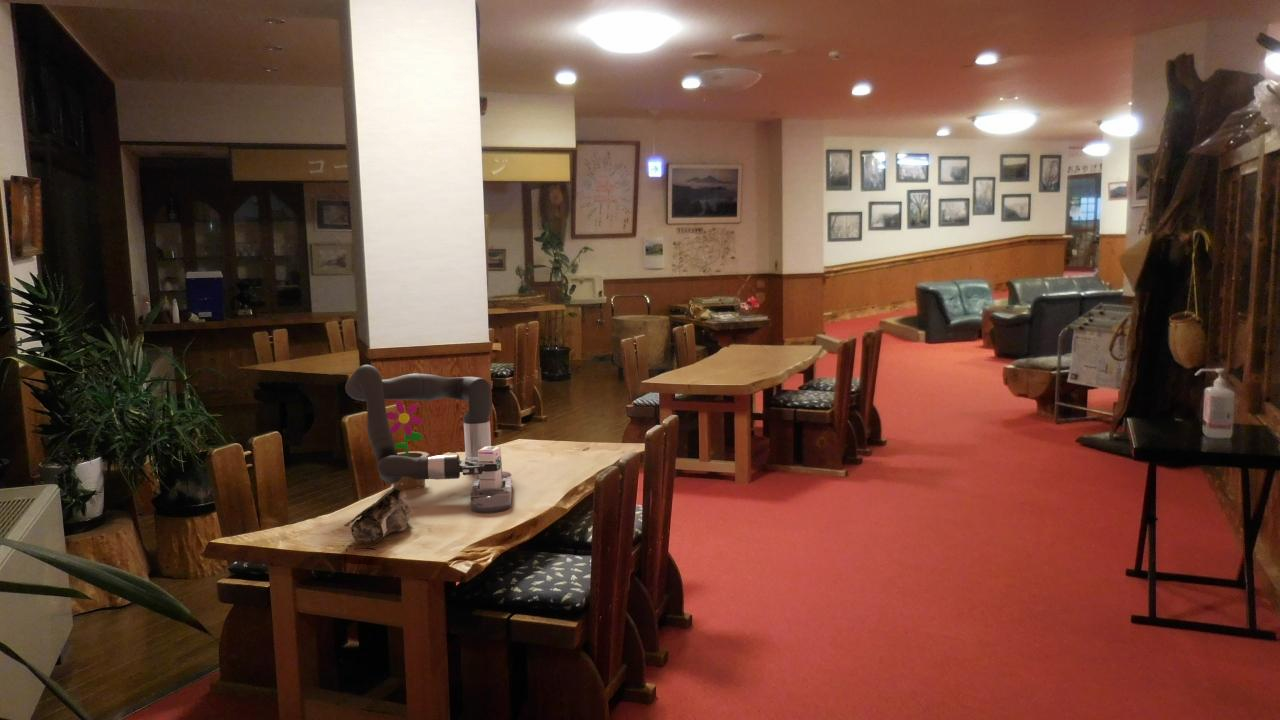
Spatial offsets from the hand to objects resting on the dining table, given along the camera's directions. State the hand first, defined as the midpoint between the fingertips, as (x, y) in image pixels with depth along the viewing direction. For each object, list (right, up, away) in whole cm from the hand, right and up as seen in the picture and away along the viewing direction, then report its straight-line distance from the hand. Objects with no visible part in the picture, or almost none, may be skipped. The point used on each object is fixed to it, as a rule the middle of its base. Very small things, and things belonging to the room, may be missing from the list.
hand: (497, 464), depth 285 cm
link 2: (-1, -11, -5) cm, 12 cm away
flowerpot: (-33, -9, +19) cm, 39 cm away
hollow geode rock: (-27, -16, -34) cm, 47 cm away
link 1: (-2, -10, +7) cm, 12 cm away
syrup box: (-2, -9, +1) cm, 9 cm away
